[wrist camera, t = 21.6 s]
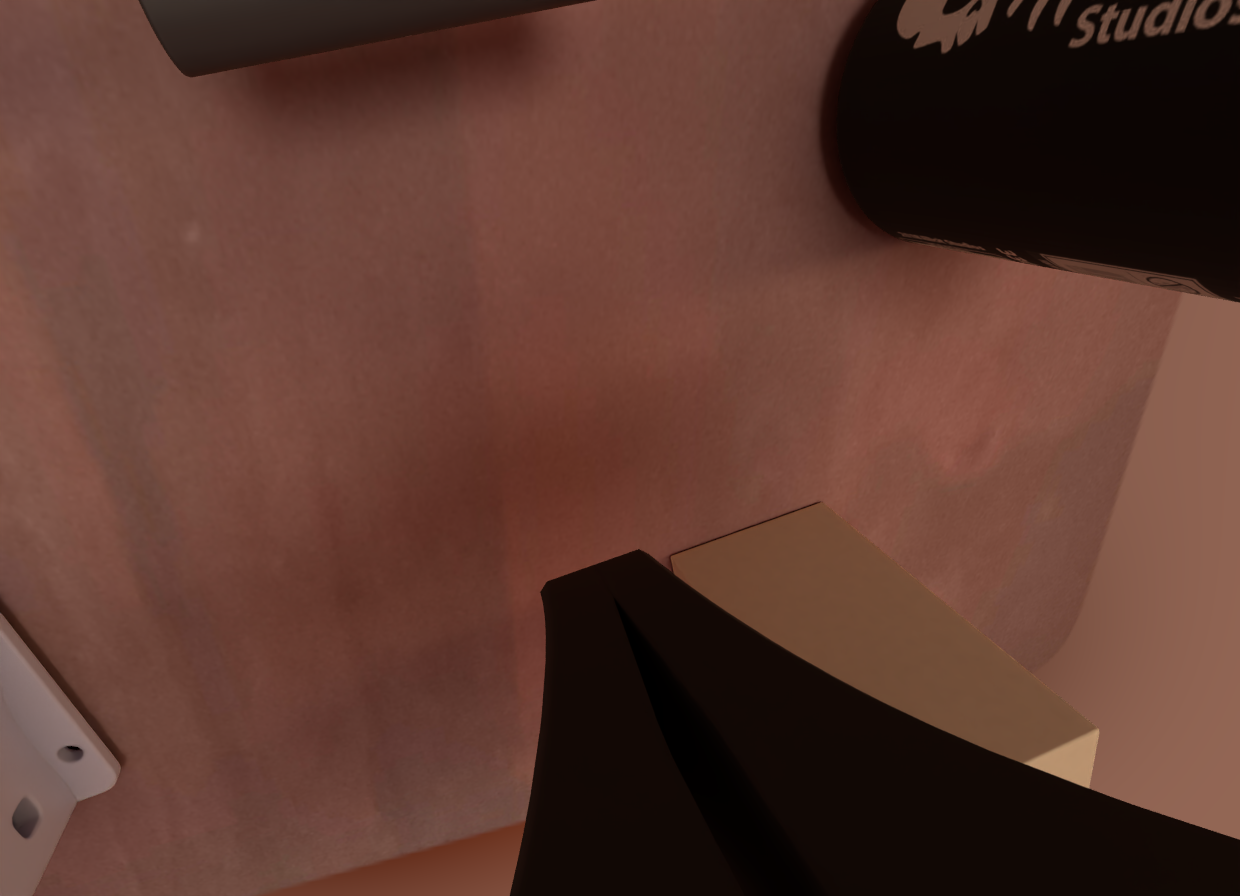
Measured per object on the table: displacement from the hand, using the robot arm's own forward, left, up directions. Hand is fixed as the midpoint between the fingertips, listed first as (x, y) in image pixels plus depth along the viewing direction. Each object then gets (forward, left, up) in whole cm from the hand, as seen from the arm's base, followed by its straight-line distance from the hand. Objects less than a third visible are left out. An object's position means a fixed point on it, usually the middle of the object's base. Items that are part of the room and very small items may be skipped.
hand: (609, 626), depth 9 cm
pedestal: (-9, -6, -9) cm, 14 cm away
